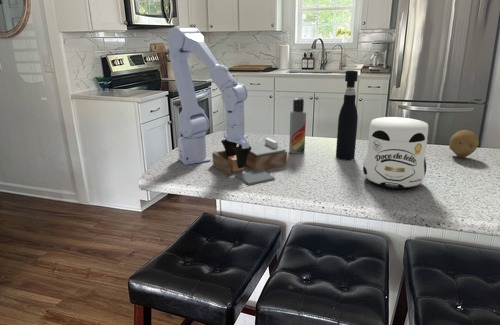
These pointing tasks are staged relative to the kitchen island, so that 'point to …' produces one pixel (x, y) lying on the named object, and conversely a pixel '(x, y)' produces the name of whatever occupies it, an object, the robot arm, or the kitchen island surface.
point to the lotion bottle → (297, 127)
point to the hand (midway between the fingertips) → (236, 163)
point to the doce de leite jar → (396, 152)
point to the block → (234, 163)
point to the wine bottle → (347, 121)
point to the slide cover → (265, 147)
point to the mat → (255, 177)
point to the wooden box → (250, 161)
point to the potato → (463, 143)
